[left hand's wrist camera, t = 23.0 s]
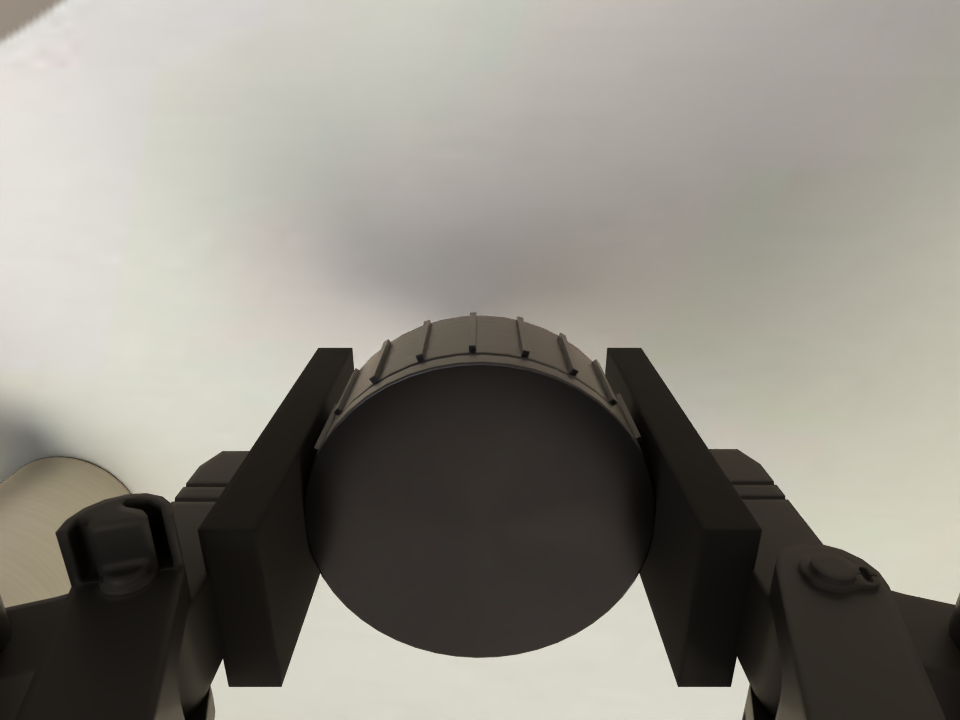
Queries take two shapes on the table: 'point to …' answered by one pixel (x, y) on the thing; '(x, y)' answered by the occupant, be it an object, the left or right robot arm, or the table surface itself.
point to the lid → (479, 490)
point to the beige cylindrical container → (44, 523)
